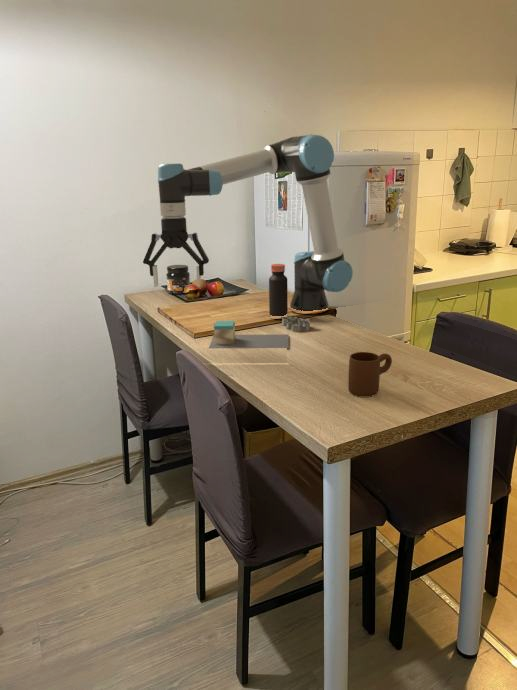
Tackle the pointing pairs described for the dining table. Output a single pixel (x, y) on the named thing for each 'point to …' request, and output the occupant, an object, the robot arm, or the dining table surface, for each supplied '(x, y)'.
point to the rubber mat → (255, 341)
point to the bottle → (278, 291)
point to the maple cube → (224, 332)
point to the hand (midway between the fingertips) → (177, 286)
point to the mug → (366, 372)
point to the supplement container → (177, 278)
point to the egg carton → (294, 321)
